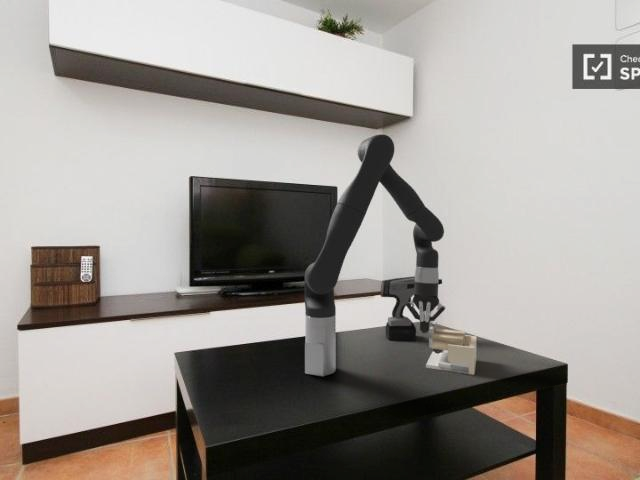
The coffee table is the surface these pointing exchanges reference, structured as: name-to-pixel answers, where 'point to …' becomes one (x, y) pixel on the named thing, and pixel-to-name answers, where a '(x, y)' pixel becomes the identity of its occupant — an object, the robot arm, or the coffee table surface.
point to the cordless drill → (400, 307)
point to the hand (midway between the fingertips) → (424, 332)
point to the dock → (456, 357)
